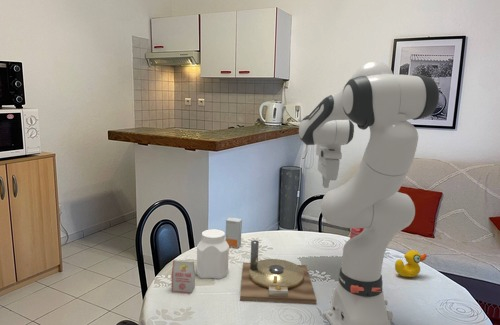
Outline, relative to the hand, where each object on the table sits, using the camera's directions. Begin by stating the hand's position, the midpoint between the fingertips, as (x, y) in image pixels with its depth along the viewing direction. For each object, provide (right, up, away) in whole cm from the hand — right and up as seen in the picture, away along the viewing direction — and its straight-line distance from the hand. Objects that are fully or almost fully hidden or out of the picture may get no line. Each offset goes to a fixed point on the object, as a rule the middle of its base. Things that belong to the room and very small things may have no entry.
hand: (325, 187), depth 137 cm
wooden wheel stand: (-20, -33, -11) cm, 40 cm away
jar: (-42, -31, -5) cm, 53 cm away
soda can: (+18, -29, +20) cm, 40 cm away
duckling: (+31, -33, -2) cm, 45 cm away
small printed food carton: (-51, -33, -18) cm, 63 cm away
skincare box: (-36, -27, +20) cm, 49 cm away
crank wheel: (-19, -31, -10) cm, 38 cm away
